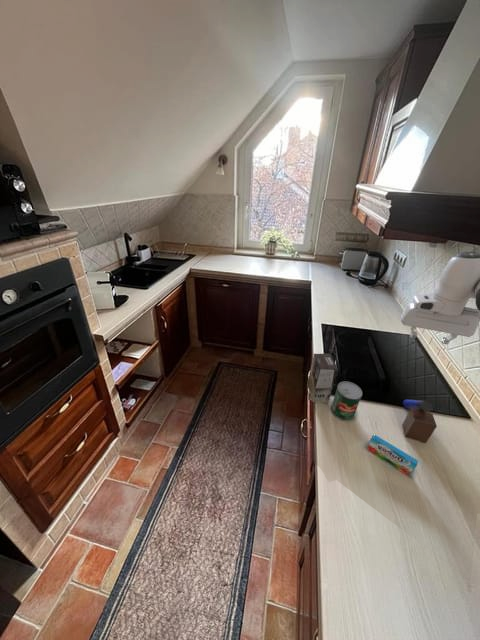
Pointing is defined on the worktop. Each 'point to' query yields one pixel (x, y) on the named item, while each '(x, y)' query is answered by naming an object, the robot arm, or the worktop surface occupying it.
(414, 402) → the dark blue flat piece
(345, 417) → the canned tomato
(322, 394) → the coffee box
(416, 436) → the walnut block
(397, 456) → the yogurt
